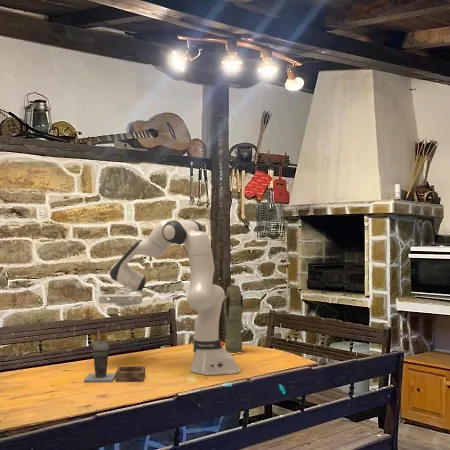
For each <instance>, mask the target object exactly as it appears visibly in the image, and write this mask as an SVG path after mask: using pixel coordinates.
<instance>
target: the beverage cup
mask: <svg viewBox="0 0 450 450" xmlns="http://www.w3.org/2000/svg"><path fill="white" fill-rule="evenodd" d="M97 337H98V340H97V341H95V342H94V343H93V346H92V355H93V364H94V365H93V367H94V373H95V377H97V378H103V377H106V373H108V372H107V371H108V370H107V369H108V359H109V353H110V347H109V344H108V342H107V341H105V340H103V339H101V338H100V330H99V329H97Z"/></svg>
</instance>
